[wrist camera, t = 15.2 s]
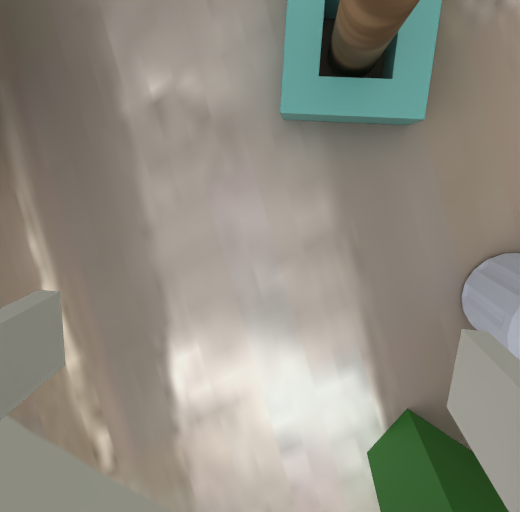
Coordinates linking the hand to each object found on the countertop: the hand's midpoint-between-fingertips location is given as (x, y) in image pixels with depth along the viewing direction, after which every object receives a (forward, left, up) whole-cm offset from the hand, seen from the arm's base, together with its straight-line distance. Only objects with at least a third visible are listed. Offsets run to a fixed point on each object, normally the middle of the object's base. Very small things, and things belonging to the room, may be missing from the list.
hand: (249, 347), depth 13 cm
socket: (+5, +16, -29) cm, 33 cm away
